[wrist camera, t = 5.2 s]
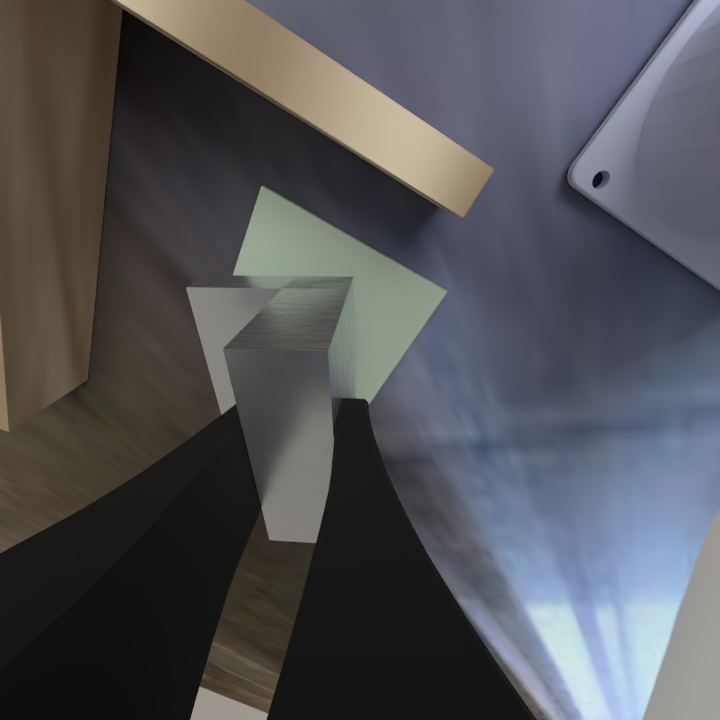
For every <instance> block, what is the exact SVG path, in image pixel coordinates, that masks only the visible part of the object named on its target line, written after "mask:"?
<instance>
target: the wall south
mask: <svg viewBox="0 0 720 720" xmlns="http://www.w3.org/2000/svg"><path fill="white" fill-rule="evenodd" d="M110 1H111V2H113V3H114V4H116V5H117V6H119V7H120V8H122V9H123V10H125V11H127V12H128V13H130V14H131V15H133V16H135V17H136V18H138V19H139V20H141V21H143V22H144V23H146V24H147V25H149V26H151V27H152V28H154V29H155V30H157V31H159V32H160V33H162V34H163V35H165V36H167V37H168V38H170V39H171V40H173V41H175V42H176V43H178V44H179V45H181V46H183V47H184V48H186V49H187V50H189V51H191V52H192V53H194V54H195V55H197V56H198V57H200V58H202V59H203V60H205V61H206V62H208V63H210V64H211V65H213V66H214V67H216V68H218V69H219V70H221V71H222V72H224V73H226V74H227V75H229V76H230V77H232V78H234V79H235V80H237V81H238V82H240V83H242V84H243V85H245V86H246V87H248V88H250V89H251V90H253V91H254V92H256V93H258V94H259V95H261V96H262V97H264V98H266V99H267V100H269V101H270V102H272V103H274V104H275V105H277V106H278V107H280V108H282V109H283V110H285V111H286V112H288V113H290V114H291V115H293V116H294V117H296V118H298V119H299V120H301V121H302V122H304V123H306V124H307V125H309V126H310V127H312V128H314V129H315V130H317V131H318V132H320V133H322V134H323V135H325V136H326V137H328V138H330V139H331V140H333V141H334V142H336V143H338V144H339V145H341V146H342V147H344V148H346V149H347V150H349V151H350V152H352V153H353V154H355V155H357V156H358V157H360V158H361V159H363V160H365V161H366V162H368V163H369V164H371V165H373V166H374V167H376V168H377V169H379V170H381V171H382V172H384V173H385V174H387V175H389V176H390V177H392V178H393V179H395V180H397V181H398V182H400V183H401V184H403V185H405V186H406V187H408V188H409V189H411V190H413V191H414V192H416V193H417V194H419V195H421V196H422V197H424V198H425V199H427V200H429V201H430V202H432V203H433V204H435V205H437V206H438V207H440V208H442V209H444V210H446V211H449V212H451V213H453V214H455V215H457V216H460V217H462V218H463V217H464V216H465V214H466V213H467V211H468V210H469V208H470V207H471V205H472V203H473V202H474V200H475V199H476V197H477V196H478V194H479V193H480V191H481V189H482V188H483V186H484V185H485V183H486V182H487V180H488V179H489V177H490V175H491V174H492V172H493V171H494V169H493V168H492V167H490V166H489V165H487V164H486V163H484V162H483V161H482V160H480V159H479V158H477V157H476V156H474V155H473V154H471V153H470V152H468V151H467V150H465V149H464V148H462V147H461V146H459V145H458V144H456V143H455V142H453V141H452V140H450V139H449V138H447V137H446V136H445V135H443V134H442V133H440V132H439V131H437V130H436V129H434V128H433V127H431V126H430V125H428V124H427V123H425V122H424V121H422V120H421V119H419V118H418V117H416V116H415V115H413V114H412V113H411V112H409V111H408V110H406V109H405V108H403V107H402V106H400V105H399V104H397V103H396V102H394V101H393V100H391V99H390V98H388V97H387V96H385V95H384V94H382V93H381V92H379V91H378V90H376V89H375V88H374V87H372V86H371V85H369V84H368V83H366V82H365V81H363V80H362V79H360V78H359V77H357V76H356V75H354V74H353V73H351V72H350V71H348V70H347V69H345V68H344V67H342V66H341V65H339V64H338V63H337V62H335V61H334V60H332V59H331V58H329V57H328V56H326V55H325V54H323V53H322V52H320V51H319V50H317V49H316V48H314V47H313V46H311V45H310V44H308V43H307V42H305V41H304V40H303V39H301V38H300V37H298V36H297V35H295V34H294V33H292V32H291V31H289V30H288V29H286V28H285V27H283V26H282V25H280V24H279V23H277V22H276V21H274V20H273V19H271V18H270V17H268V16H267V15H266V14H264V13H263V12H261V11H260V10H258V9H257V8H255V7H254V6H252V5H251V4H249V3H248V2H246V1H245V0H110Z"/></svg>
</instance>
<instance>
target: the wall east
mask: <svg viewBox="0 0 720 720" xmlns="http://www.w3.org/2000/svg"><path fill="white" fill-rule="evenodd" d="M122 10H123V9H122V8H120V7H119V6H117V5H116V4H114V3H113V2H111V1H110V0H0V429H2V430H5V431H7V432H10V431H11V430H13V429H14V428H16V427H17V426H19V425H20V424H22V423H23V422H25V421H26V420H28V419H29V418H31V417H32V416H34V415H35V414H37V413H38V412H40V411H41V410H43V409H44V408H46V407H48V406H49V405H51V404H52V403H54V402H55V401H57V400H58V399H60V398H61V397H63V396H64V395H66V394H67V393H69V392H70V391H72V390H73V389H75V388H76V387H78V386H79V385H81V384H82V383H84V382H85V381H87V380H88V372H89V361H90V351H91V340H92V330H93V319H94V308H95V298H96V287H97V276H98V266H99V255H100V244H101V234H102V223H103V213H104V202H105V191H106V181H107V170H108V159H109V149H110V138H111V127H112V117H113V106H114V95H115V85H116V74H117V64H118V53H119V42H120V32H121V21H122Z"/></svg>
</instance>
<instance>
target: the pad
mask: <svg viewBox="0 0 720 720" xmlns="http://www.w3.org/2000/svg"><path fill="white" fill-rule="evenodd" d="M233 275H244V276H354V329H355V384H356V398H359V399H365V400H366V401H368V402H369V404H370V402H371V401H372V400H373V398H374V397H375V395H376V394H377V392H378V391H379V390H380V388H381V387H382V385H383V384H384V382H385V381H386V380H387V378H388V377H389V375H390V374H391V372H392V371H393V369H394V368H395V367H396V365H397V364H398V362H399V361H400V359H401V358H402V357H403V355H404V354H405V352H406V351H407V349H408V348H409V347H410V345H411V344H412V342H413V341H414V339H415V338H416V337H417V335H418V334H419V332H420V331H421V329H422V328H423V326H424V325H425V324H426V322H427V321H428V319H429V318H430V316H431V315H432V314H433V312H434V311H435V309H436V308H437V306H438V305H439V304H440V302H441V301H442V299H443V298H444V296H445V295H446V294H447V290H445V289H444V288H442V287H440V286H438V285H437V284H435V283H433V282H431V281H430V280H428V279H426V278H424V277H423V276H421V275H419V274H418V273H416V272H414V271H412V270H411V269H409V268H407V267H405V266H404V265H402V264H400V263H398V262H397V261H395V260H393V259H391V258H390V257H388V256H386V255H384V254H383V253H381V252H379V251H377V250H376V249H374V248H372V247H370V246H369V245H367V244H365V243H363V242H362V241H360V240H358V239H356V238H355V237H353V236H351V235H349V234H348V233H346V232H344V231H343V230H341V229H339V228H337V227H336V226H334V225H332V224H330V223H329V222H327V221H325V220H323V219H322V218H320V217H318V216H316V215H315V214H313V213H311V212H309V211H308V210H306V209H304V208H302V207H301V206H299V205H297V204H295V203H294V202H292V201H290V200H288V199H287V198H285V197H283V196H281V195H280V194H278V193H276V192H274V191H273V190H271V189H269V188H267V187H266V186H261V189H260V192H259V195H258V198H257V201H256V204H255V207H254V211H253V214H252V217H251V220H250V223H249V226H248V229H247V232H246V236H245V239H244V242H243V245H242V248H241V251H240V254H239V257H238V261H237V264H236V267H235V270H234V273H233Z"/></svg>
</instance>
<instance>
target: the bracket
mask: <svg viewBox="0 0 720 720" xmlns="http://www.w3.org/2000/svg"><path fill="white" fill-rule="evenodd" d="M186 289H187V293H188V296H189V300H190V303H191V307H192V311H193V314H194V318H195V321H196V325H197V329H198V332H199V336H200V339H201V343H202V347H203V350H204V354H205V357H206V361H207V365H208V368H209V372H210V375H211V379H212V382H213V386H214V390H215V393H216V397H217V400H218V404H219V408H220V411H221V415H222V414H223V413H225V412H226V411H227V410H229V409H230V408H231V407H232V406H234V405H235V404H236V405H237V409H238V413H239V418H240V422H241V426H242V430H243V434H244V438H245V442H246V446H247V450H248V454H249V458H250V462H251V467H252V471H253V475H254V479H255V483H256V487H257V491H258V495H259V499H260V503H261V507H262V511H263V516H264V520H265V524H266V528H267V532H268V536H269V540H276V541H292V542H308V543H316V541H317V537H318V533H319V529H320V525H321V520H322V516H323V512H324V508H325V503H326V499H327V495H328V490H329V483H330V477H331V468H332V457H333V447H334V436H335V426H336V417H337V414H338V411H339V407H340V404H341V402H342V399H343V398H356V384H355V329H354V276H244V275H209V276H207V277H205V278H203V279H201V280H199V281H197V282H196V283H194V284H192V285H190V286H188V287H186Z"/></svg>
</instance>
